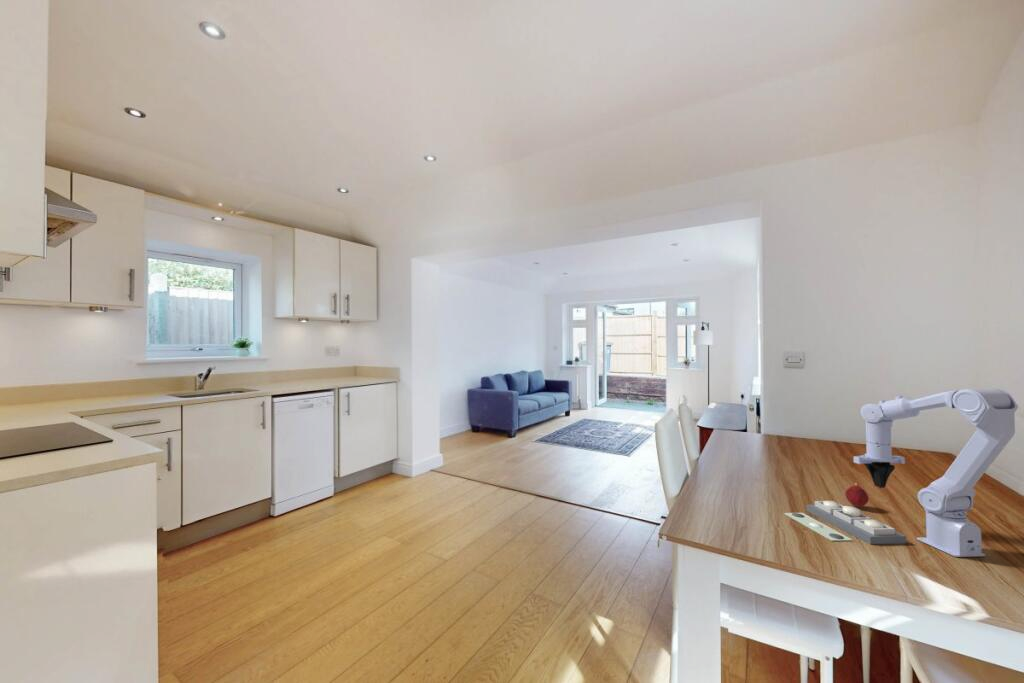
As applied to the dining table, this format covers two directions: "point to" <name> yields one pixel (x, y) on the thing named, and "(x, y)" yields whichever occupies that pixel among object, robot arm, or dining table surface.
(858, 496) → the onion
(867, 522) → the button near
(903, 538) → the button board
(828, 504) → the button far
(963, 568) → the dining table surface
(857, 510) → the button middle
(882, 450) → the robot arm
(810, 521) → the card
